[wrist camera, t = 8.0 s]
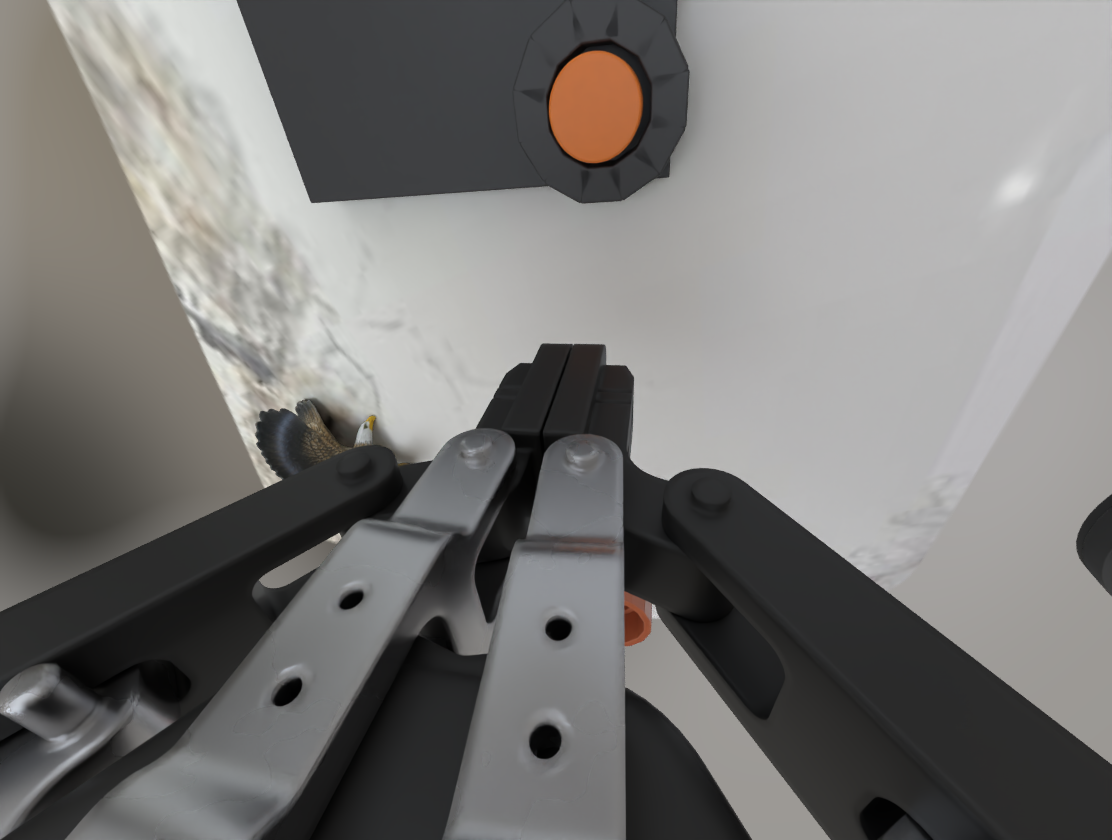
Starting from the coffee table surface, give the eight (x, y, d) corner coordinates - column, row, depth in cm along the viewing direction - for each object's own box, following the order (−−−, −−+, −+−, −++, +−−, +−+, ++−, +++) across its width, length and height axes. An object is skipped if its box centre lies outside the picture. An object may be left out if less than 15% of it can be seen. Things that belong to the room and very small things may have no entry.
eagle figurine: (429, 420, 29) (274, 372, 26) (390, 535, 26) (217, 493, 24) (421, 442, 36) (299, 405, 33) (390, 535, 33) (256, 502, 31)
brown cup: (653, 538, 33) (652, 601, 29) (651, 590, 36) (649, 652, 32) (568, 531, 34) (556, 590, 30) (574, 582, 38) (563, 640, 34)
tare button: (644, 47, 15) (642, 44, 14) (642, 154, 16) (641, 159, 15) (553, 59, 15) (543, 56, 14) (560, 161, 17) (552, 166, 16)
